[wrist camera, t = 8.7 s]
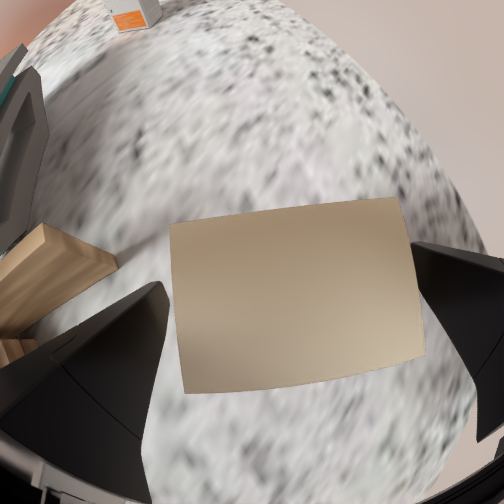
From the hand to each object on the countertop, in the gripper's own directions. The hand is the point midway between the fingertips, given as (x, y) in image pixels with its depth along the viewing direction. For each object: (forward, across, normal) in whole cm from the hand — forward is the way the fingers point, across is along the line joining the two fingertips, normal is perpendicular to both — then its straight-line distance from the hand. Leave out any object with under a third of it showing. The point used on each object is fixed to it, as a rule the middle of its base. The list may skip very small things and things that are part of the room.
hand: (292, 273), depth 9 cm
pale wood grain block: (+5, 0, -6) cm, 8 cm away
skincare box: (+34, -13, +21) cm, 42 cm away
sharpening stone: (+16, -27, +4) cm, 32 cm away
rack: (+5, -19, -7) cm, 21 cm away
